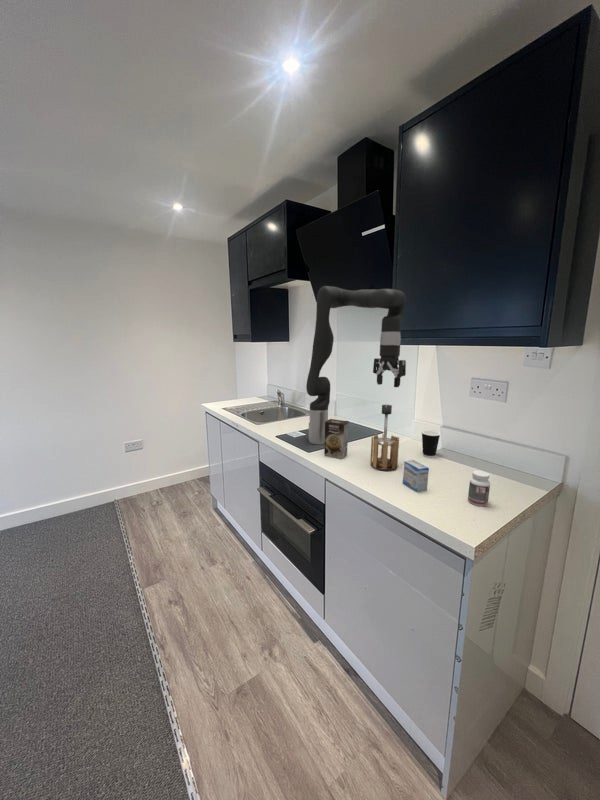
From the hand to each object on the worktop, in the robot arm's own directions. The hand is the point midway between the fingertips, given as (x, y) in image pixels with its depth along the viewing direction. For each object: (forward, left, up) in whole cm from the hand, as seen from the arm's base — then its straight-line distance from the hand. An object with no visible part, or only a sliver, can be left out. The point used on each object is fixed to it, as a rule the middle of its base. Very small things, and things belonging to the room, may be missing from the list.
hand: (387, 385), depth 125 cm
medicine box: (+19, -5, -34) cm, 39 cm away
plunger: (0, 0, -23) cm, 23 cm away
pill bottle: (+37, +3, -34) cm, 50 cm away
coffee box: (-20, -9, -34) cm, 40 cm away
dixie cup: (+3, +26, -34) cm, 43 cm away
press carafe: (0, +1, -33) cm, 34 cm away
